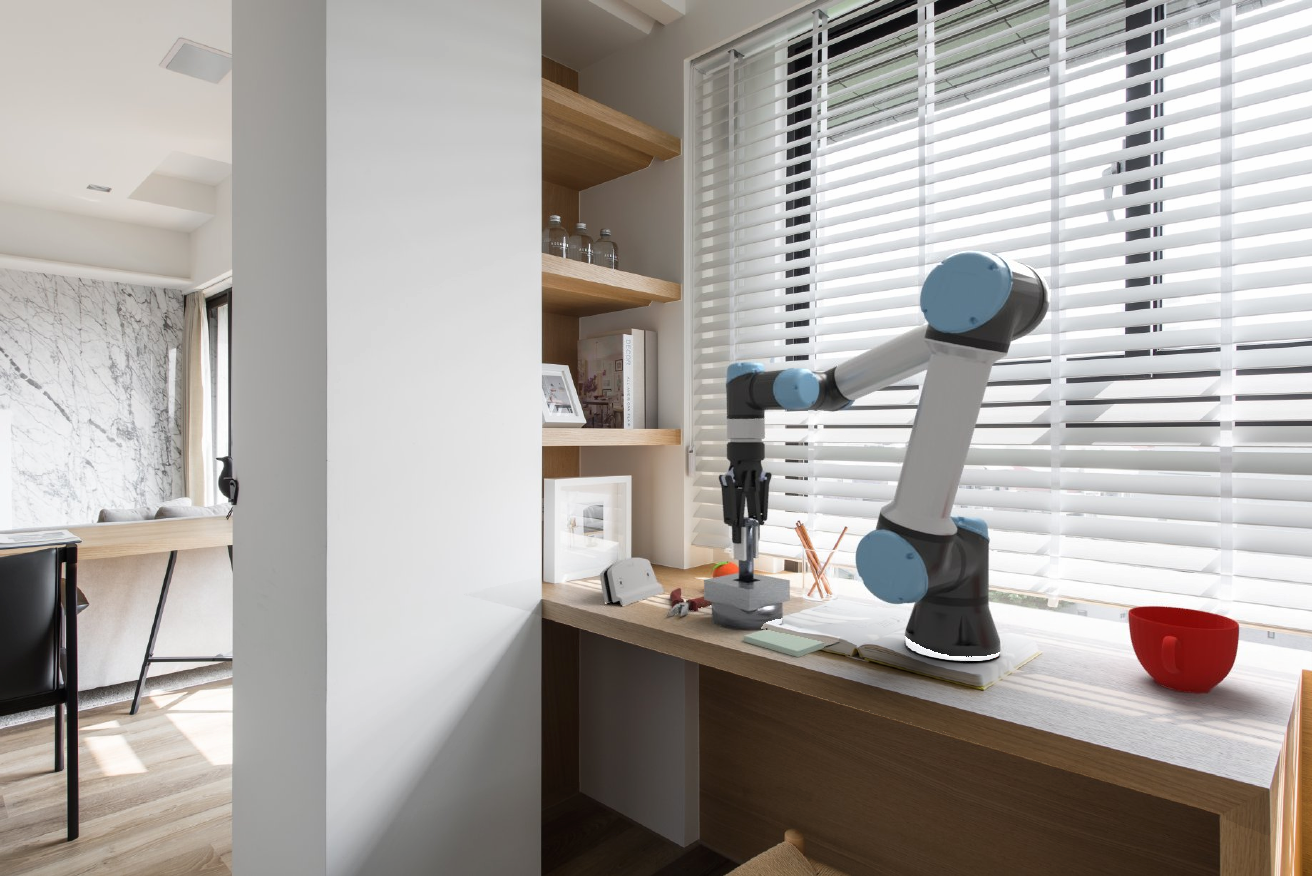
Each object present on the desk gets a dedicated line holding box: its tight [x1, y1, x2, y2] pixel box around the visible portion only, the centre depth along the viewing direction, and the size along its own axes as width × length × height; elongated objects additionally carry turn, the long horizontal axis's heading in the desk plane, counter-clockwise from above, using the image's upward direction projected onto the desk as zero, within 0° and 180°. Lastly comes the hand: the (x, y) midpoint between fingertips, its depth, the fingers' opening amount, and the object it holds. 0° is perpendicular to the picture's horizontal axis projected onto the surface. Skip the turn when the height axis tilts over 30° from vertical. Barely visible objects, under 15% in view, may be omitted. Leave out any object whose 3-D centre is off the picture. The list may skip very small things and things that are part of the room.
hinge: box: [599, 557, 665, 606], centre depth 160 cm, size 17×5×10 cm, turn 146°
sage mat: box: [743, 629, 825, 658], centre depth 125 cm, size 12×12×1 cm
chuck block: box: [703, 573, 791, 631], centre depth 139 cm, size 14×14×8 cm
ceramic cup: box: [1127, 605, 1240, 694], centre depth 101 cm, size 13×17×10 cm
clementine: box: [710, 561, 739, 578], centre depth 164 cm, size 8×7×7 cm
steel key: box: [738, 516, 759, 583], centre depth 139 cm, size 6×3×13 cm, turn 41°
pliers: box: [666, 587, 712, 618], centre depth 150 cm, size 12×20×3 cm, turn 162°
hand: (746, 558), depth 139 cm, fingers closed on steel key, 3 cm apart
